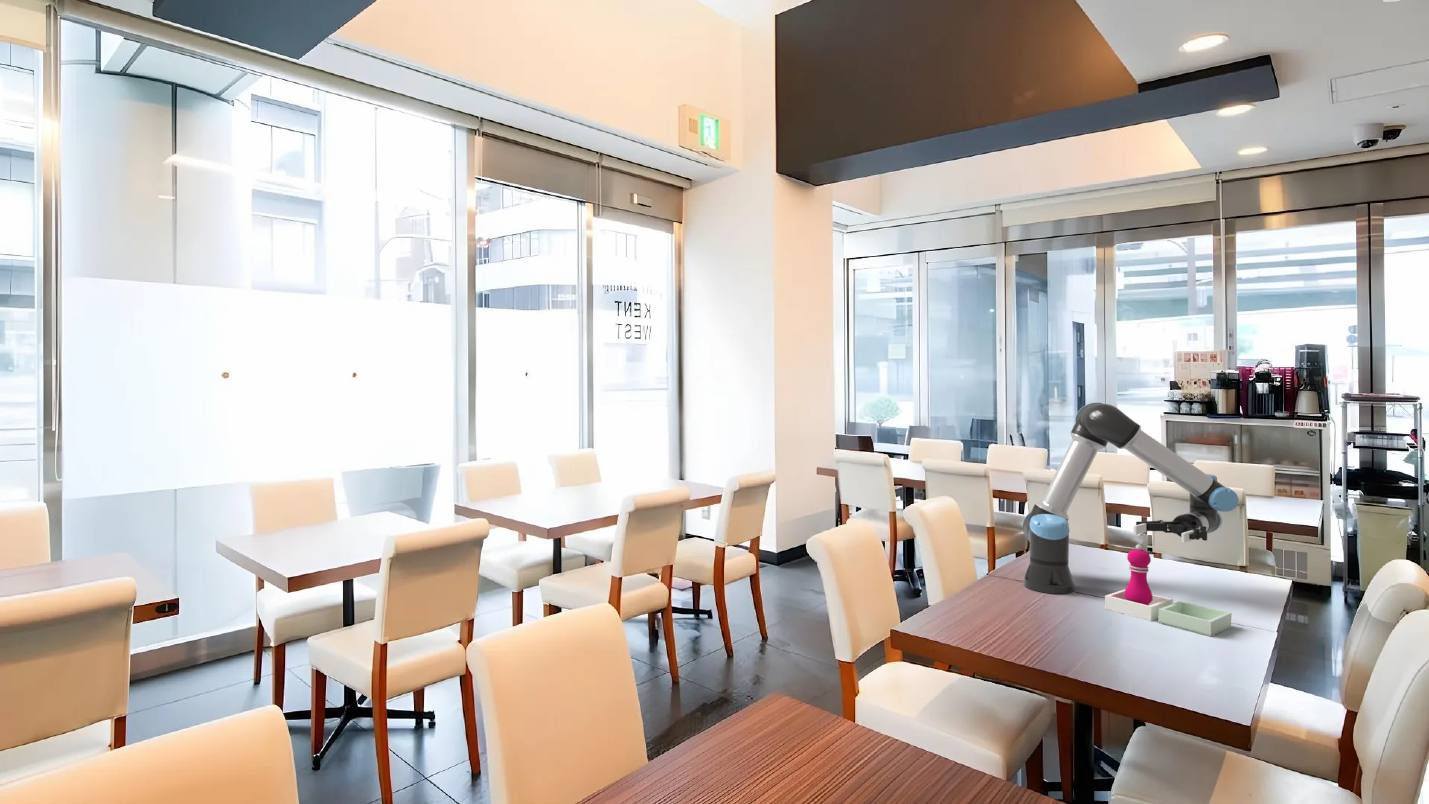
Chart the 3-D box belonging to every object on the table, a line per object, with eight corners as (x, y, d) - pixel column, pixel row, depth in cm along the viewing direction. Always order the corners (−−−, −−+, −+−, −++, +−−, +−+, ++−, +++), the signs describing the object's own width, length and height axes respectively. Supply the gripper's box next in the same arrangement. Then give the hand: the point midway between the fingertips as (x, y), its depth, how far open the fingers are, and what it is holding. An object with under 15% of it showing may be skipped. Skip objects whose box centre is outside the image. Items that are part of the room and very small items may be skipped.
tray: (1158, 623, 199) (1158, 609, 199) (1179, 614, 206) (1179, 600, 206) (1210, 636, 188) (1210, 622, 188) (1231, 627, 196) (1231, 613, 196)
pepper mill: (1156, 615, 206) (1157, 547, 205) (1129, 614, 207) (1130, 546, 207) (1146, 607, 213) (1147, 542, 212) (1120, 606, 214) (1121, 541, 214)
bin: (1104, 608, 212) (1104, 595, 212) (1126, 601, 219) (1126, 588, 219) (1150, 621, 201) (1151, 607, 201) (1172, 612, 208) (1172, 599, 208)
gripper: (1234, 543, 217) (1204, 554, 205) (1148, 530, 237) (1116, 539, 226) (1235, 519, 217) (1204, 528, 205) (1148, 508, 237) (1116, 515, 226)
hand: (1158, 534), depth 215 cm, fingers open, 13 cm apart
